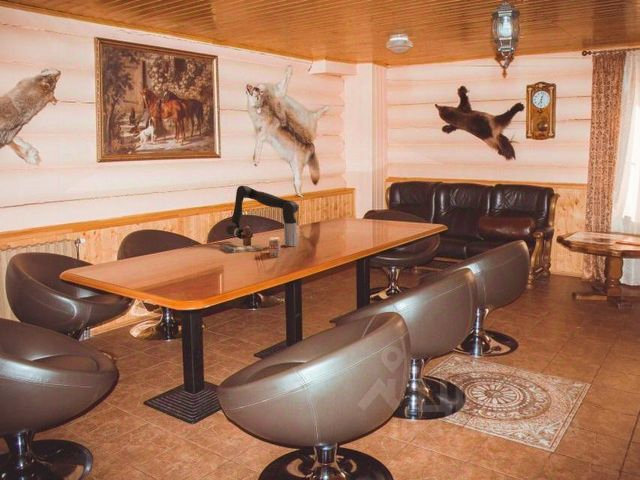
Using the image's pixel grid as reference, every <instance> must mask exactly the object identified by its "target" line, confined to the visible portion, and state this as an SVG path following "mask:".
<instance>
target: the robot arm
mask: <svg viewBox="0 0 640 480" xmlns="http://www.w3.org/2000/svg"><path fill="white" fill-rule="evenodd" d="M244 199H251V200H253V201H256V202H258V203H259V204H261V205H264V206H266V207H270V208H277V209H282V219H283V224H284V225H283V232H284V233H283V234H284V235H283V237H284V239H283V241H284V244H283V245H284V246H285V247H296V246H298V245H299V244H298V243H299V242H298V241H299V240H298V232H297V219H296V218H295V215H294V214H295V213H297V212H298V211H299V205H298V203H297V202H296V201H294V200H293V201H292V200H289V199H284V198H282V197H279V196H275V195H274V194H272V193H271V194H270V193H268V192H263V191H259V190H257V189H254V188H252V187H250V186H246V185H239V186H238V187H237V188H236V194H235V201H234V208H233V211H232V216H231V221H230V222H231V223H232V224H235V225H231V224H230V225H227V227H226V228H225V229H226V230H225V231H226V234H228V235H231V236H234V237H235V238H238V239H241V240H243V238H245V235H243V228H241V219H242V216H243V202H244ZM253 235H254V234H253V232H252V231H251V239H252V238H253V237H254V236H253Z"/></svg>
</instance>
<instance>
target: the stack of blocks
mask: <svg viewBox="0 0 640 480" xmlns="http://www.w3.org/2000/svg"><path fill="white" fill-rule="evenodd" d="M268 241H269V242H268V245H269V246H268V247H269V253H268V254H269V258H277V259H278V258H279V257H280V255H281V238H280V237H279V236H278V237H277V236H275V237H274V236H271V237H270V238H269V240H268Z"/></svg>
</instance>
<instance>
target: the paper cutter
mask: <svg viewBox="0 0 640 480" xmlns="http://www.w3.org/2000/svg"><path fill="white" fill-rule="evenodd" d="M221 249H222V250H223V251H225V252H227V253H229V254H235V253H245V252H247V253H248V252H256V251H257V252H258V251H263V250H264V247H263V246H260V245H258V244H257V245H255V244H254V245H251V246H244V245H243V246H236V247H235V246H233V247H231V246H229V245H227V244H222V245H221Z"/></svg>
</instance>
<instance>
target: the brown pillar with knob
mask: <svg viewBox="0 0 640 480" xmlns="http://www.w3.org/2000/svg"><path fill="white" fill-rule="evenodd" d="M242 229H243V235H245V238H243V239H242V244H243V245H242V246H243V247H244V246H252V238H251V232H252V229H251V227H249V226H248V225H246V226H244V227H243V228H242Z"/></svg>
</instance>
